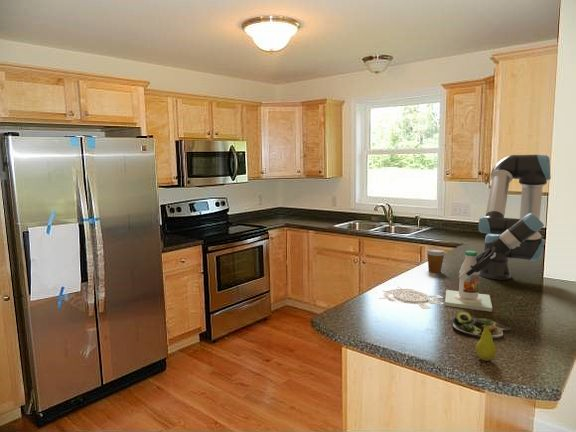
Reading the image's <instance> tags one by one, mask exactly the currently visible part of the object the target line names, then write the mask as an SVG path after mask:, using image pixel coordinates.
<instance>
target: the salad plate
mask: <svg viewBox="0 0 576 432" xmlns="http://www.w3.org/2000/svg"><path fill="white" fill-rule="evenodd" d="M483 320H484V322H485V324H486V327H487V328H488V329H489V330H490V332H491V335H492V339H499V338H501V337H503V336H504V332H503V331H510V330H512V329H511V327H508V326H505V325H502V324H500V323H498V322H496V321H493V320H492V319H487V318H485V317H484V318H477V317H473V316H472V315H471V313H469V312H467V311H466V310H465V311H464V310H460V311H458V312H457V313H456V314H455V316H454V317H453V319H452V320H451V321H452V322H451V323H452V329H453V330H454V331H455V332H456V333H458V334H460V335H464V336H466V337H473V338H481V335H482V333H483V330H484V327H485V324H484V323H483Z"/></svg>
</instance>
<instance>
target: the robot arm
mask: <svg viewBox="0 0 576 432" xmlns="http://www.w3.org/2000/svg"><path fill="white" fill-rule="evenodd" d="M513 179H514V180H518V183H519V185H521V196H520V197H521V199H520V207H519V208H520V209H519V210H520V211H519V218H513V217H505V215H506V207H507V201H508V195H509V188H510V187H509V186H510V183H511V182H512V180H513ZM490 180H491V184H490V190H489V195H488V202H487V205H486V206H487V207H486V211H485V215H483V216H482V215H481V216H480V217H479V220H478V231H479V232H480V233H482V234H486V235H485V237H484V238H485V239H484V251H483V252H480V254H477V257H476V261H477V263H476V264H475V265H474V266H470V268H469V269H468V270H466V271H465V272H464V273H462V274H461V275H460V270H459V271H458V273H459V275H458V276H457V277H458V278H459V280H460V279H461V280H462V281H465V280H466V279H467V278H469V277H470V276H471V275H473V274H474V273H475V272H479V276H481V277H483V278H487V279H491V280H502V281H503V280H505V281H506V280H509V279H511V277H512V276H511V275H512V272H511V269H510V266H509V259H513V260H521V261H527V262H538V261H539V260H541V258H542V254H543V251H544V247H545V238H543V237H542V234H540V232H539V231H540V230H541V229H543V227H545V223H544V222H542V220H541V207H542V197H543V187H544V186H545V185H547V182H548V181H550V180H551V161H550V156H548V155H546V154H511V155H507V156H504V157H503V158H502V159H500V160H499V161H497V163H496V164H495V165H494V166H493V168H492V170H491V172H490Z"/></svg>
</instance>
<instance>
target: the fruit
mask: <svg viewBox="0 0 576 432" xmlns="http://www.w3.org/2000/svg"><path fill="white" fill-rule="evenodd" d="M483 323H484V324H485V322H484V320H483ZM480 335H481V337H480V339H479V340H478V342H477V343H476V344H475V352H476V353H475V354H477V356H478V358H480V359H481V360H482V361H484V362H487V361H492V360H493V359H494V358H495V357H496V354H497V348H496V345H495V343H494V340H493V339H494V338H492V335H493V334H492V333H491V332H490V330H489V329H488V328H487V327H486V324H485V327H484V330H483V332H481V334H480Z"/></svg>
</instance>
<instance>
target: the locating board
mask: <svg viewBox="0 0 576 432" xmlns="http://www.w3.org/2000/svg"><path fill="white" fill-rule="evenodd" d="M444 306H445V307H446V306H447V307H453V308H462V309H469V310H477V311H483V312H484V311H485V312H490V313H492V312H493V305H492V299H491V295H490V294H487V293H486V294H485V293H478V298H476V299H467V298H463V297H460V296H459V290H451V289H446V290H445V300H444Z"/></svg>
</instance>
